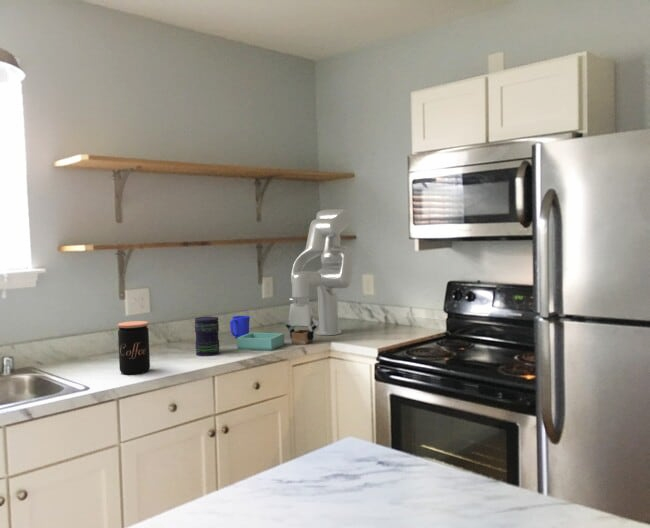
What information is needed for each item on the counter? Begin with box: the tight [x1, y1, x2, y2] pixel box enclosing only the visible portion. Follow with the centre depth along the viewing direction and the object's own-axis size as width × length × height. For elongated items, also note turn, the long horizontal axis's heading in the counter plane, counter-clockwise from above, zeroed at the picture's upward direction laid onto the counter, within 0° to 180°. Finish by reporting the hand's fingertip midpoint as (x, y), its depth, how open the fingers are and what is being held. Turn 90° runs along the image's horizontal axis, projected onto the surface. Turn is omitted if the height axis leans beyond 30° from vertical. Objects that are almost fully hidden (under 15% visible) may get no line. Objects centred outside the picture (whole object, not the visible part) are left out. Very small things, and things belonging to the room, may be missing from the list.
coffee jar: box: [117, 320, 151, 376], centre depth 223 cm, size 11×11×18 cm
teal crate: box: [236, 332, 286, 352], centre depth 264 cm, size 14×16×5 cm
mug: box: [229, 315, 251, 339], centre depth 288 cm, size 8×12×10 cm
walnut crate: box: [290, 329, 313, 346], centre depth 272 cm, size 9×6×5 cm
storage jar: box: [194, 316, 221, 357], centre depth 252 cm, size 10×10×15 cm
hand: (301, 339), depth 272 cm, fingers open, 8 cm apart
